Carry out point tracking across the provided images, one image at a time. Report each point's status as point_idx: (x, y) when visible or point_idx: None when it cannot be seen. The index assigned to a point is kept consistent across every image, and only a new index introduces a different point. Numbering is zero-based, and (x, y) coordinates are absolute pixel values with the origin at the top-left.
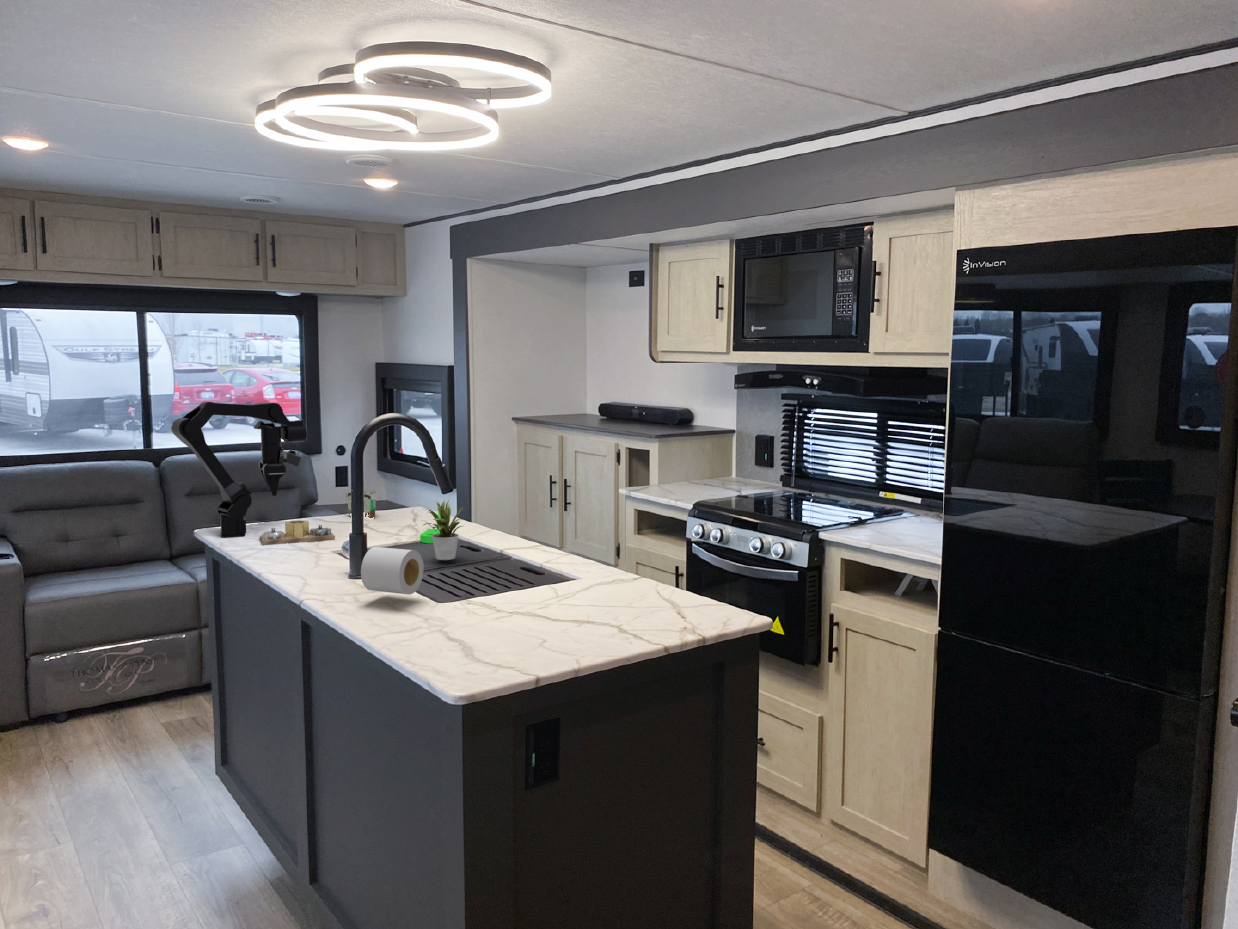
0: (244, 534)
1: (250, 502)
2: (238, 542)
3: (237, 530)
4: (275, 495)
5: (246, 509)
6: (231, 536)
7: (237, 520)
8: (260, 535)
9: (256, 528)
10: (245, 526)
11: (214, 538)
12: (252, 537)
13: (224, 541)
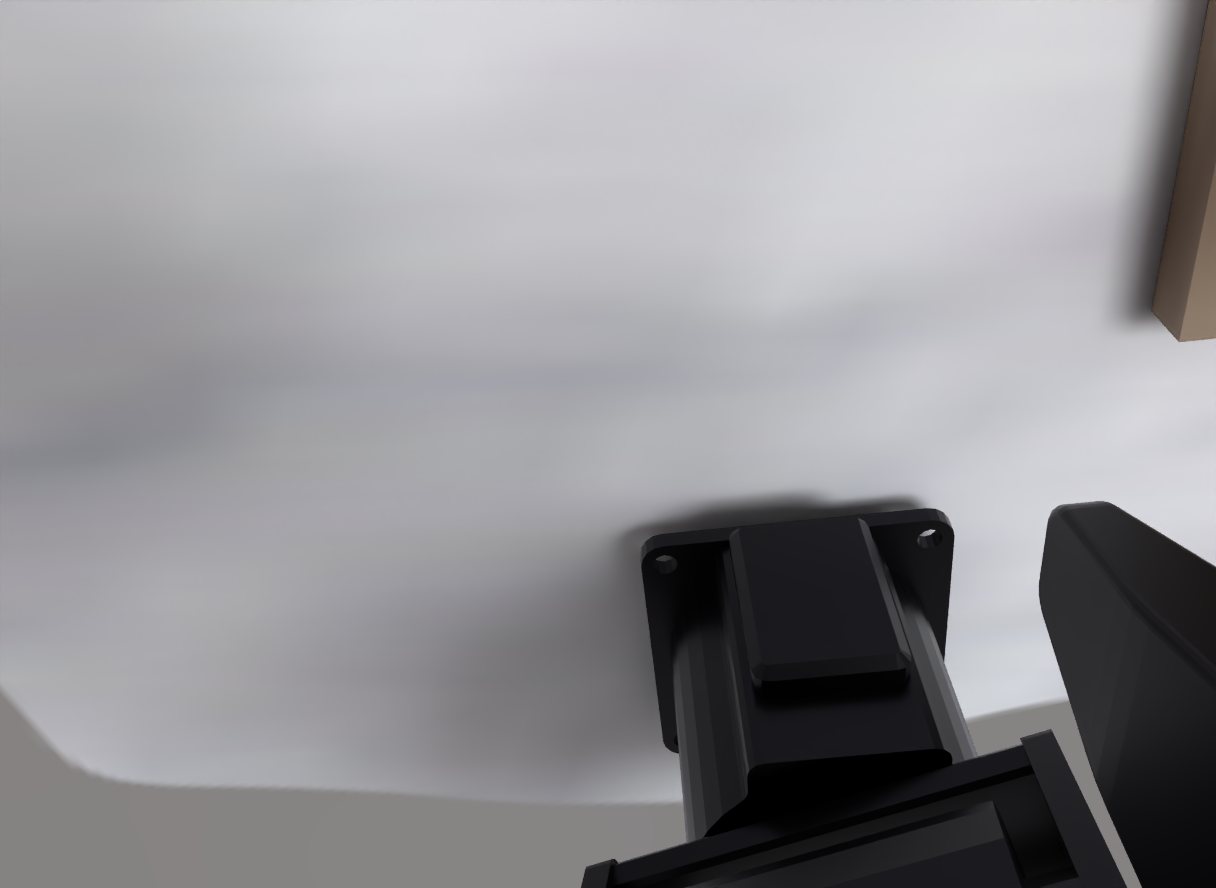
0: (930, 526)
1: (1014, 876)
2: (1208, 538)
3: (933, 638)
4: (1105, 521)
5: (1085, 809)
6: (941, 641)
7: (972, 751)
8: (1187, 331)
9: (102, 390)
10: (887, 587)
11: None
12: (907, 407)
13: (1041, 666)
